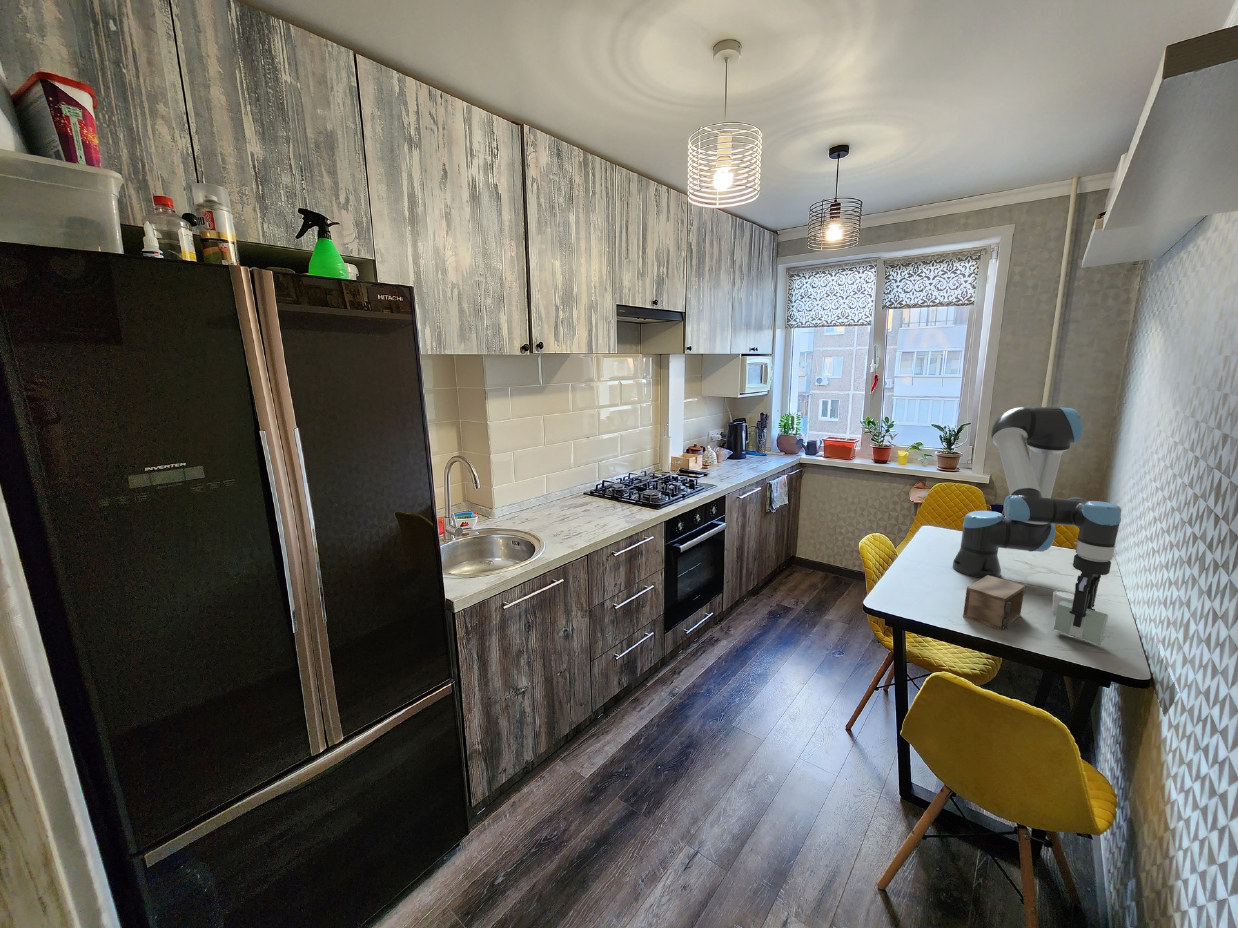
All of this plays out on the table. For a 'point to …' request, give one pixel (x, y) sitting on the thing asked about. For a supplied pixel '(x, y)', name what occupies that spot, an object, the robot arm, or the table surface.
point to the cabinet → (993, 601)
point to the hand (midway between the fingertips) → (1077, 633)
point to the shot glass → (1061, 599)
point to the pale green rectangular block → (1093, 622)
